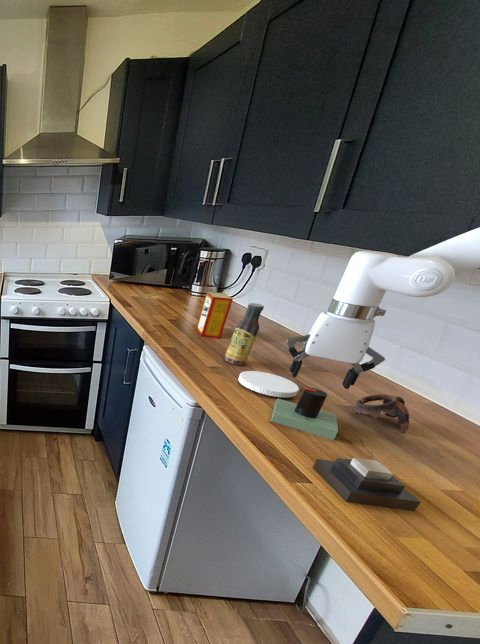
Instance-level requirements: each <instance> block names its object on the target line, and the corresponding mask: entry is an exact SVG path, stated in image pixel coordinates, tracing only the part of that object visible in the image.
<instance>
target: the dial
mask: <svg viewBox="0 0 480 644" xmlns="http://www.w3.org/2000/svg"><path fill="white" fill-rule="evenodd" d="M327 397H328V393H327V392H325V391H324V390H321V389H319V388H316V387H307V386H306V387H304V388H303V390H302V392H301V395H300V396H299V399H298V401H297V403H296V404H297V406H296V408H295V412H296V413H298V414H300V415H302V416H305V417H309V418H316V417H317V416H318V414H319V412H320V410H322V407H323V405H324V403H325V401H326V398H327Z"/></svg>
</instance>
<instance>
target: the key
mask: <svg viewBox="0 0 480 644" xmlns="http://www.w3.org/2000/svg"><path fill="white" fill-rule="evenodd" d="M351 460H352V461H351V463H350V465H351V466H352V467H354V468H355V469H356V470H357V471H358V472H359V473H360V474H361V475H363V476H364V477H366V478H374V479H381V480H390V478H391V477H392V476H394V473H393V472H392V471H390V470H389V469H388V468H387V467H385V466H384V465H383V464H382V463H380V461H378V460H376V459H368V458H359V457H352V458H351Z"/></svg>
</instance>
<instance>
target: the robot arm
mask: <svg viewBox="0 0 480 644" xmlns="http://www.w3.org/2000/svg"><path fill="white" fill-rule="evenodd" d="M478 269H480V226H479V227H477V228H474V229H472V230H468V231H467V232H464V233H461V234H459V235H457V236H453V237H451V238H448V239H447V240H443V241H442V242H439V243H437V244H434V245H432V246H429V247H428V248H425V249H422V250H420V251H418V252H415V253H413V254H411V255H409V256H407V257H406V256H405V257H404V256H399V255H397V254H395V253H390V252H386V251H385V252H384V251H375V250H359V251H356V252H355V253H353V254H352V255H351V256H350V259H349V261H348V263H347V265H346V267H345V270H344V273H343V275H342V277H341V279H340V281H339V284H338V286H337V288H336V290H335V293H334V295H333V298H332V300H331V301H330V304H329V306H328V309H327V310H323V311H321V312H320V314H319V315H318V317H317V318H316V319H315V321H314V323H313V325H312V327H311V329H310V330H309V333H308V334H305V335H299V336H294V337H288V338H287V339H286V345H287V349H288V352H289V353H290V355H291V356H292V357H293V360H292V363H291V365H290V367H289V372H290V373H291V377H292V378H297V376H298V374H299V372H300V370H301V367H302V365H303V360H304V359H307V358H308V357H315V358H319V359H323V360H328V361H334V362H338V363H342V364H343V363H344V364H350V365H351V368H349V369H348V371H347V373H346V374H345V377H344V378H343V381H342V383H341V384H342V386H343V388H344V389H346V390H349V389H350V387H351V386H354V385H355V384H356V381H357V380H358V377H359V376H360V375H362V374H364V373H365V372H368V371H370V370H373V369H374V368H375V367H377V366H378V365H380V364H382V363H383V362H385V360H386V358H385V356H383V354H380V352H377V351H376V350H375V349H373V348H372V347H370V346H369V345H370V343H371V340H372V337H373V334H374V330H375V326H376V320H375V318H376V317H380V316H381V317H384V316H385V315H386V312H387V310H386V309H382V308H380V305H381V303H382V300H383V299H384V296H385V294H386V293H387V291H388V292H392V293H397V294H400V295H404V296H406V297H407V296H408V297H413V298H429V297H433V296H437V295H440V294H442V293H444V292H445V291H446V290H448V289H449V288H450V287H452V285H453V283H454V281H455V278H456V277H459V276H462V275H464V274H467V273H470V272H472V271H475V270H478ZM302 343H303V347H302V348H303V349H301V350H299V351H298V350H297V348H296V346H295V345H296V344H302ZM366 354H367V356H370V357H371V359H370V360H369V361H366V362H363V363H361V362H362V361H363V359H364V357H365V355H366ZM360 363H361V364H360Z"/></svg>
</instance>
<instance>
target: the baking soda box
mask: <svg viewBox="0 0 480 644" xmlns="http://www.w3.org/2000/svg"><path fill="white" fill-rule="evenodd" d="M205 293H206V294H205V297H204V300H203V304H202V307H201V311H200V315H199V317H198V322H197V325H196V328H195V329H196V331H197V332H198V334H199V335H200V336H201V337H204V338H213V339H221V337H222V334H223V332H224V328H225V324H226V322H227V319H228V315H229V313H230V310H231V306H232V302H233V300H234V299H233V298H232V297H231V296H229V294H227V293H225V292H215V291H206V292H205Z"/></svg>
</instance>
